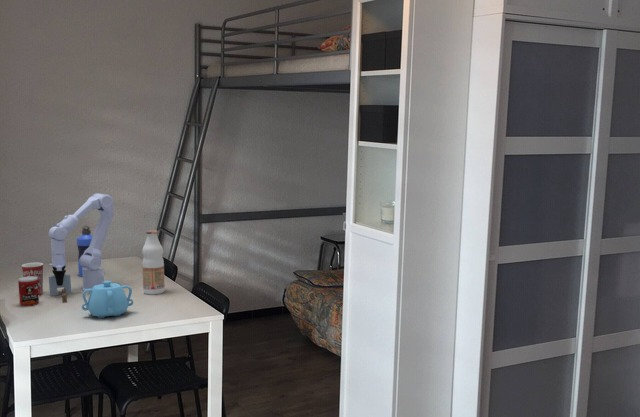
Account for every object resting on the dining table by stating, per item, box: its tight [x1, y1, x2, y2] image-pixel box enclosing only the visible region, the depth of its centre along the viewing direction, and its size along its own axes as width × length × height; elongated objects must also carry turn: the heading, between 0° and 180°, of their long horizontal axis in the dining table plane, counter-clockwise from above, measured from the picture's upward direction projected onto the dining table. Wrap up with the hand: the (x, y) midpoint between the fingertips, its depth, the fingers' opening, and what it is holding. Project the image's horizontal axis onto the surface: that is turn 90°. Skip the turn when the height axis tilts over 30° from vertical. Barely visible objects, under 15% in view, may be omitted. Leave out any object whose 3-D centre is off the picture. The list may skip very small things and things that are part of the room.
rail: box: [61, 288, 68, 303], centre depth 313 cm, size 2×12×3 cm, turn 20°
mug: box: [21, 262, 44, 296], centre depth 323 cm, size 13×9×14 cm
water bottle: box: [76, 225, 93, 278], centre depth 358 cm, size 9×9×25 cm
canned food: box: [17, 276, 40, 307], centre depth 306 cm, size 8×8×11 cm
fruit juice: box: [141, 229, 166, 296], centre depth 323 cm, size 9×9×28 cm
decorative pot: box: [81, 280, 134, 319], centre depth 288 cm, size 16×16×14 cm
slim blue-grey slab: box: [48, 273, 72, 297], centre depth 322 cm, size 9×2×8 cm, turn 110°
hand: (59, 283), depth 322 cm, fingers open, 7 cm apart
